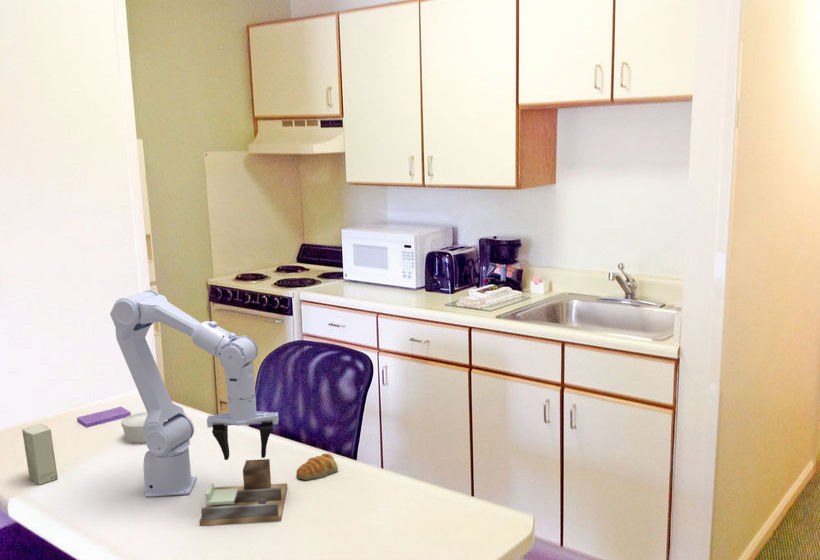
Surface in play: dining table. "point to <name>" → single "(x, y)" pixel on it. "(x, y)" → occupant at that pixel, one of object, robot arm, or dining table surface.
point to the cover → (220, 495)
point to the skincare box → (40, 454)
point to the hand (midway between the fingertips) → (245, 456)
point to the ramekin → (134, 427)
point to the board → (247, 506)
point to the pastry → (317, 467)
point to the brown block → (257, 474)
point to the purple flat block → (103, 417)
